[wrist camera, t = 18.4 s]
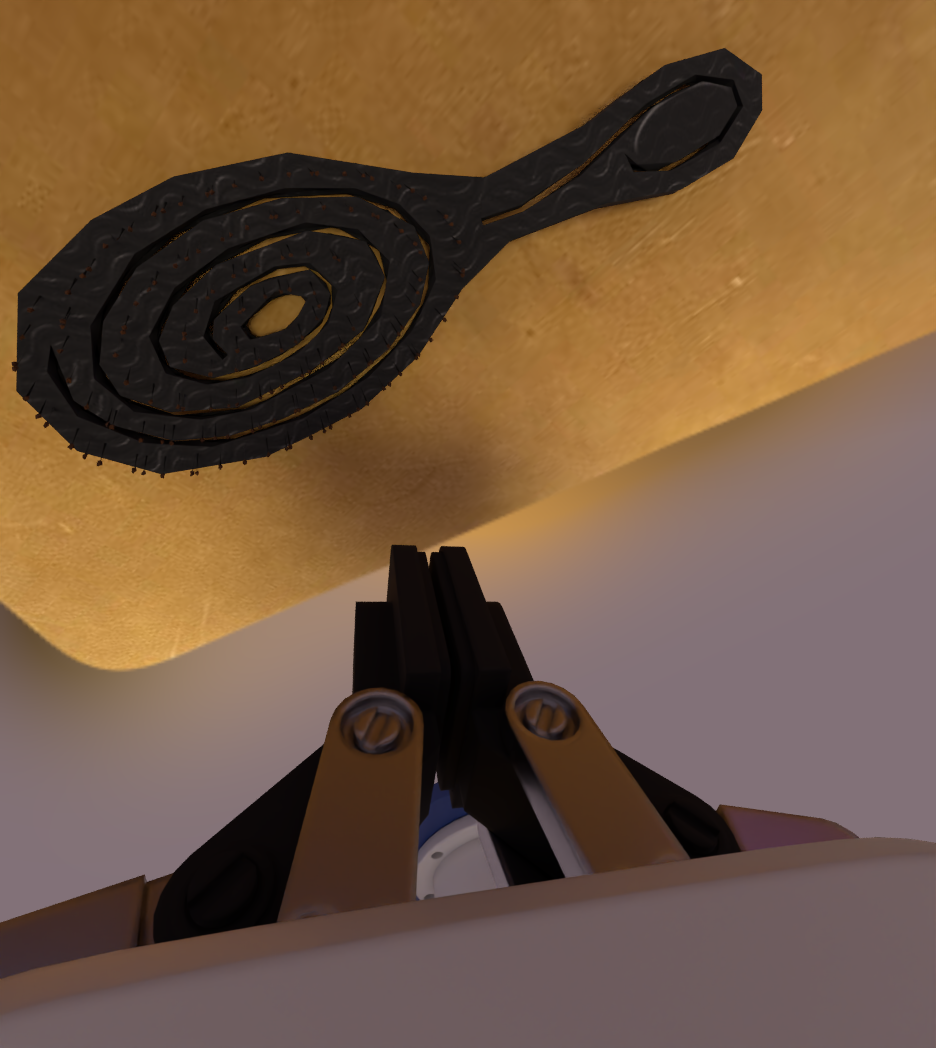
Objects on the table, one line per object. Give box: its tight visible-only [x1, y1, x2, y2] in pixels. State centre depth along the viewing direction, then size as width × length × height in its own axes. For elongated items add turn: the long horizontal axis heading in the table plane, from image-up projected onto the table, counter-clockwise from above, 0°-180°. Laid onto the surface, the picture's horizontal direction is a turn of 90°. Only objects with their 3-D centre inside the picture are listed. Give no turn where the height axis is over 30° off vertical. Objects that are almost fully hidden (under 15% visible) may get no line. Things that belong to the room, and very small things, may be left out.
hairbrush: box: [12, 48, 762, 479], centre depth 15 cm, size 8×4×25 cm
